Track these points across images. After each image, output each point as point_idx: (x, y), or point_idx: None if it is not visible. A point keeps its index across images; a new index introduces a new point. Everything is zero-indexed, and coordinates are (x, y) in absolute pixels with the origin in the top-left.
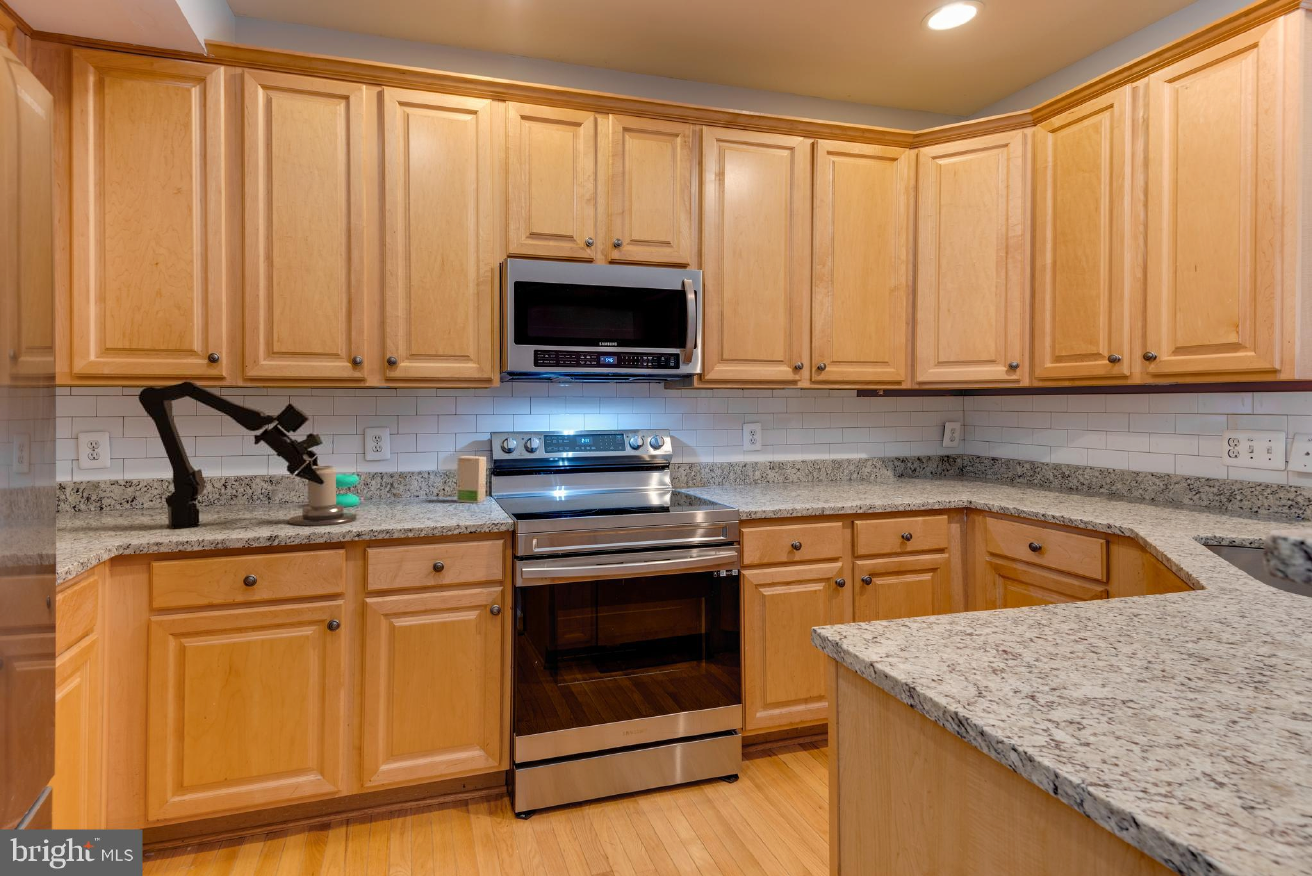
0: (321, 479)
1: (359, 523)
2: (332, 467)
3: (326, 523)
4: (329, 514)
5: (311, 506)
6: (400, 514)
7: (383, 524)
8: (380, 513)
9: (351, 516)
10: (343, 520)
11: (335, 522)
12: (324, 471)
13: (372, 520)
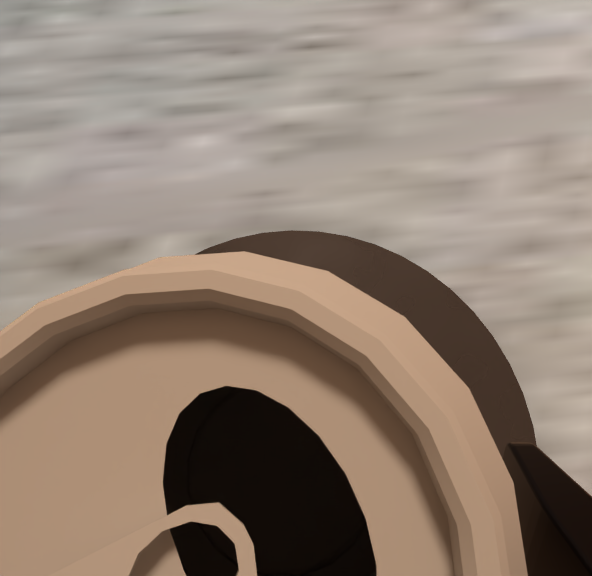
0: (584, 491)
1: (462, 206)
2: (246, 276)
3: (525, 408)
4: None
5: (352, 570)
6: (177, 13)
7: (527, 71)
8: (96, 120)
9: (308, 259)
10: (457, 297)
11: (496, 348)
12: (476, 456)
13: (361, 142)
